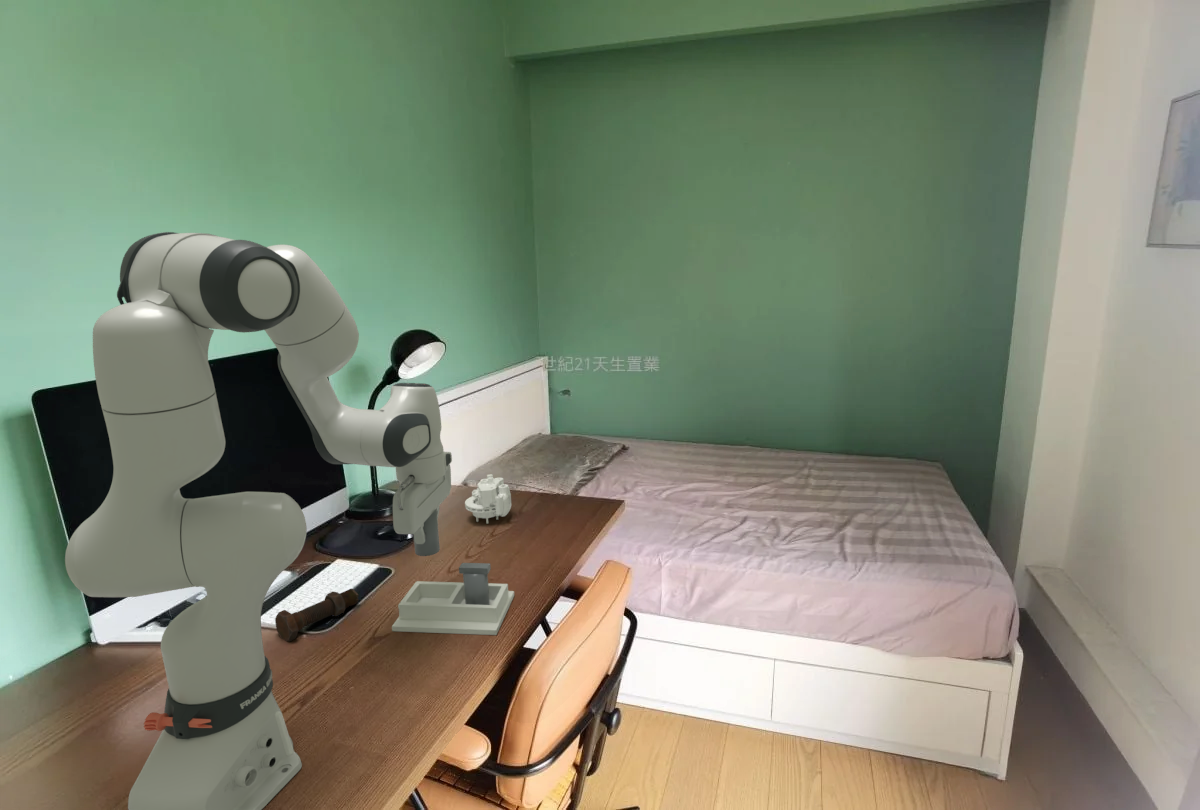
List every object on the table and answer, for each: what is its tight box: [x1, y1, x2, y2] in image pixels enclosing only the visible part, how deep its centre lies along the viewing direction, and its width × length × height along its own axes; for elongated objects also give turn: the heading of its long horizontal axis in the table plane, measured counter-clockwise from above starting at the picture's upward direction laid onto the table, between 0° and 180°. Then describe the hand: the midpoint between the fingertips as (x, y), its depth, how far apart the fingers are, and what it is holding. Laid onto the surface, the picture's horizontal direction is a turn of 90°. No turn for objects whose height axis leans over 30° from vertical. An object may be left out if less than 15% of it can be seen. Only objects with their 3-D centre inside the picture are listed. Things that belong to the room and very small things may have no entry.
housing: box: [391, 562, 515, 636], centre depth 123 cm, size 14×20×10 cm
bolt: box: [275, 588, 360, 642], centre depth 123 cm, size 6×5×15 cm
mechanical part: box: [464, 474, 512, 524], centre depth 167 cm, size 11×12×12 cm
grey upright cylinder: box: [413, 510, 441, 557], centre depth 121 cm, size 5×5×8 cm
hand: (427, 535), depth 121 cm, fingers closed on grey upright cylinder, 5 cm apart
